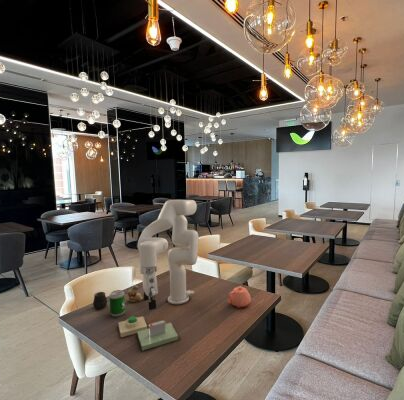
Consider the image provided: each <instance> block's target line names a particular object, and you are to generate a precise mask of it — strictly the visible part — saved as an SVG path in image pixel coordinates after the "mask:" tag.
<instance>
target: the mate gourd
mask: <svg viewBox="0 0 404 400" xmlns="http://www.w3.org/2000/svg"><path fill="white" fill-rule="evenodd" d="M92 305H93V308H95V309H96V310H102V309H104V308H105V307H106V306H107V305H108V298H107V296H106V293H105V291H98V292H95V293H94V295H93V302H92Z"/></svg>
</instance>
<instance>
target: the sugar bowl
mask: <svg viewBox="0 0 404 400" xmlns="http://www.w3.org/2000/svg"><path fill="white" fill-rule="evenodd" d="M251 301H252V299H251V295H250V293H249V291H248V289H247V288H246V287H243V286H241V285H239V286H237V287H234V288H233V289H232V291H230V292H229V293H228V300H227V303H228V304H231V305H232V306H234V307H236V308H238V309H240V308H244V307H245V308H246V307H247V306H249V305H250V303H252V302H251Z"/></svg>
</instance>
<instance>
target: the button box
mask: <svg viewBox="0 0 404 400" xmlns="http://www.w3.org/2000/svg"><path fill="white" fill-rule="evenodd" d="M135 317H136V322H134V323H129V321H128V319H129V318H127V319H125V320H122V321H119V322H118V330H119V331H118V332H119V335H120V338H124V337H128V336H131V335H135V334H136V335H137V332H138V331H141V330H145V329H148V324H147V322H146V319H145V317H144V316H139V317H137V316H135Z"/></svg>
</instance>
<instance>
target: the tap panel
mask: <svg viewBox="0 0 404 400" xmlns="http://www.w3.org/2000/svg"><path fill="white" fill-rule="evenodd" d="M136 335H137V338H138V342H139V345H140V349H141V350H142V351H145V350H149V349H152V348H156V347H160V346H162V345H165V344H169V343H172V342H175V341H178V340H179V335H178V333H177V331H176V329H175V328H174V326H173V324H172V322H168V323H167V322H166V323H165V333H162V334H158V335H155V336H151V337H150V335H149V328H147V329H145V330H141V331H138V332H137V333H136Z"/></svg>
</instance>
